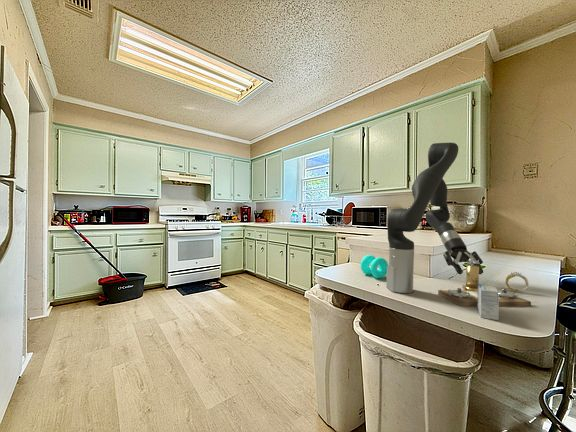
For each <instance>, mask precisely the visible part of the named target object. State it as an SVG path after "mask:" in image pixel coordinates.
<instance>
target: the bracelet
mask: <svg viewBox="0 0 576 432" xmlns="http://www.w3.org/2000/svg"><path fill="white" fill-rule="evenodd" d="M522 274H523V273H522V272H520V273H519V272H518V271H514V272H513V271H512V272H511V273H509V274H507V276H506V277H505V280H504V281H505V284H506V285H505V286H506V287H508V289H509V290H511V291H512V292H514V293H515V292H516V293H519V292H524V291H526V290H527V289H528V287H529V285H530V284H529V280H528V278H527V276H524V275H522ZM515 277H519V278H521V279H523V281H524V283H525V285H524V287H523V288H520V289H517V288H513V287H511V286H510V284H509V280H510V279H512V278H515Z"/></svg>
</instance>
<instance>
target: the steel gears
mask: <svg viewBox="0 0 576 432" xmlns="http://www.w3.org/2000/svg"><path fill="white" fill-rule="evenodd" d="M461 290H462V288H460V287H458V288H457V289H448V293H449V296H454V297H458V298H459V299H462V298H468V299H471V295H470V293H469V292H464V291H461ZM497 291H498V292H499V297H503V298H506V299H509V298H515V299H517V297H519V295H518V294H516V293H515V291H507V288H505V287H504V288H503V287H502V288H501V289H497Z"/></svg>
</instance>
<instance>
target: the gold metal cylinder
mask: <svg viewBox="0 0 576 432" xmlns="http://www.w3.org/2000/svg"><path fill="white" fill-rule="evenodd" d="M465 267H466V269H465V285H464V284H462V290H478V284H480V281H479V279H480V277H479V276H480V274H479V266H475V265H471V264H466V266H465Z"/></svg>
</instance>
